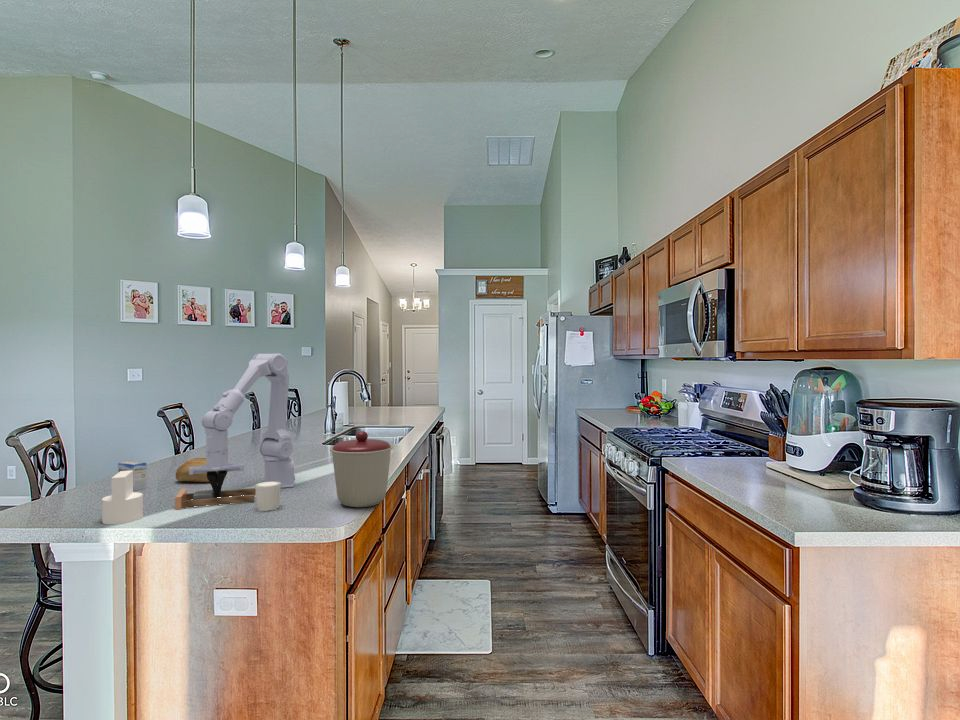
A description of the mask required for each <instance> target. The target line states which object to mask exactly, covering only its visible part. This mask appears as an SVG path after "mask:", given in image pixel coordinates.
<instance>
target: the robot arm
mask: <svg viewBox="0 0 960 720" xmlns="http://www.w3.org/2000/svg"><path fill="white" fill-rule="evenodd" d="M288 365H289V364H288V360H287V359H286V357H285V356H284V355H283V354H282V353H278V352H277V353H261V352H260V353H256V354H255V355H254V356H253V357H252V359H251V360H249V362H248V367H247V368H246V370H245V372H244V373H243V375H242V376H241V377H240V379H239V381H238V382H237V383H236V384H235V386H234V387H233V389H228V390H226V391H224V392H223V393H222V397H221V398H220V399H219V401H217V403H216V404H215V405H214V406H213V407H212V409H211V410H209V411H207V412H205V415H203V418H202V420H200V422H201V426H202V427H203V429H204V430H205V431H204V433H205V437H206V438H205V439H206V440H205V442H206V443H205V447H206V450H205V454H206V455H205V456H206V457H205V458H206V465H204V466H196V467H190V468H189V475H193V474H201V473H207V478H208V480H209V482H208V483H209V484H210V486H211V488H212V489H211V490H213V492H214V497H215V498H217V497H220V493H221V491H222V488H223V484H224V481H225V478H226V476H227V474H228V472H229V473H230V472H238V471H239V472H244V471H245V463H244V462H243V463H229V457H228V456H229V455H228V453H229V451H228V449H229V448H228V447H229V445H228V442H229V440H228V439H229V437H228V436H229V435H228V432H229V431H228V429H229V428H230V427H231V426H232V424H233V418H234V416H235V414H236V412H237V411H238V410H239V408H240V407H241V406H242V404H243V403H244V401H245V397H244V396H245V394H246V393H247V392H248V391H249V390H250V389H251V387H252V386H253V385H254V384H255V383H256V382H257V380H258V379H259V378H262V377H265V378H266V379H267V380H268V381H269V382H270V397H269V409H268V410H269V411H268V425H267V430H266V431H265V432H264V433H263V434H262V436H261V437H262V439H261V441H260V444H259V448H258V449H259V454H260V455H261V457H262V459H263V460H264V461H263V462H264V482H269V481H277V482H280V483H281V488H282V489H283V488H294V487H295V481H296V475H295V459H294V457H293V458H290V457H291V455H292V454H293V450H294V449H293V443H292V435H291V434H290V433H289V432H288V431H287V430H286V429H287V416H288V415H287V412H288V398H289V385H290V384H289V383H290V375H289V372H288ZM281 488H280V489H281Z"/></svg>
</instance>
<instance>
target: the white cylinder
mask: <svg viewBox="0 0 960 720" xmlns="http://www.w3.org/2000/svg"><path fill="white" fill-rule="evenodd" d="M254 488H255V489H256V495H255V497H256V507H257V510H258V511H259V510H261V511H260V512H269V510H271V511H275V510H278V509H279V507H280V498H281V497H280V496H281V483H280V482H277V481H269V482H265V481H262V482H258V483H255V485H254ZM277 508H278V509H277ZM274 509H275V510H274Z"/></svg>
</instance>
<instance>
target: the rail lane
mask: <svg viewBox="0 0 960 720" xmlns="http://www.w3.org/2000/svg"><path fill="white" fill-rule="evenodd" d="M194 493H195V492H189V493H188V488H187V487H186V488H181V489H180V490H179V491H178V493H177V494H176V495H175V498H174V501H175V502H174V504H175V505H174V506H175V507H174V509H178V510H182V509H181V508H184V509H187V508H186V507H194V506H206V505H218V506H220V505H219V504H229V505H231V504H230V503H240V504H243V503H242V502H251V503H255V496H256V489H255V487H252V488H251V487H250V488H240V489H239V488H237V489H227V490H226V489H225V490H221V493H220V497H221V498H209V499H197V500H191V499H193V495H194ZM241 495H242V496H241ZM243 495H244V496H243ZM229 496H232V497H229Z"/></svg>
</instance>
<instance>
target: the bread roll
mask: <svg viewBox="0 0 960 720" xmlns="http://www.w3.org/2000/svg"><path fill="white" fill-rule="evenodd" d="M204 465H206V457H200V458H199V457H196V458H192V459H190V460H187V461H185V462H184V463H183V464H181V465H180V466H179V467H178V468H177V470H176V472H175V479H176V481H178V482H198V483H210V482H209V480H208V478H207V473H201V474H193V475H189V468H190V467H196V466H204Z"/></svg>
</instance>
